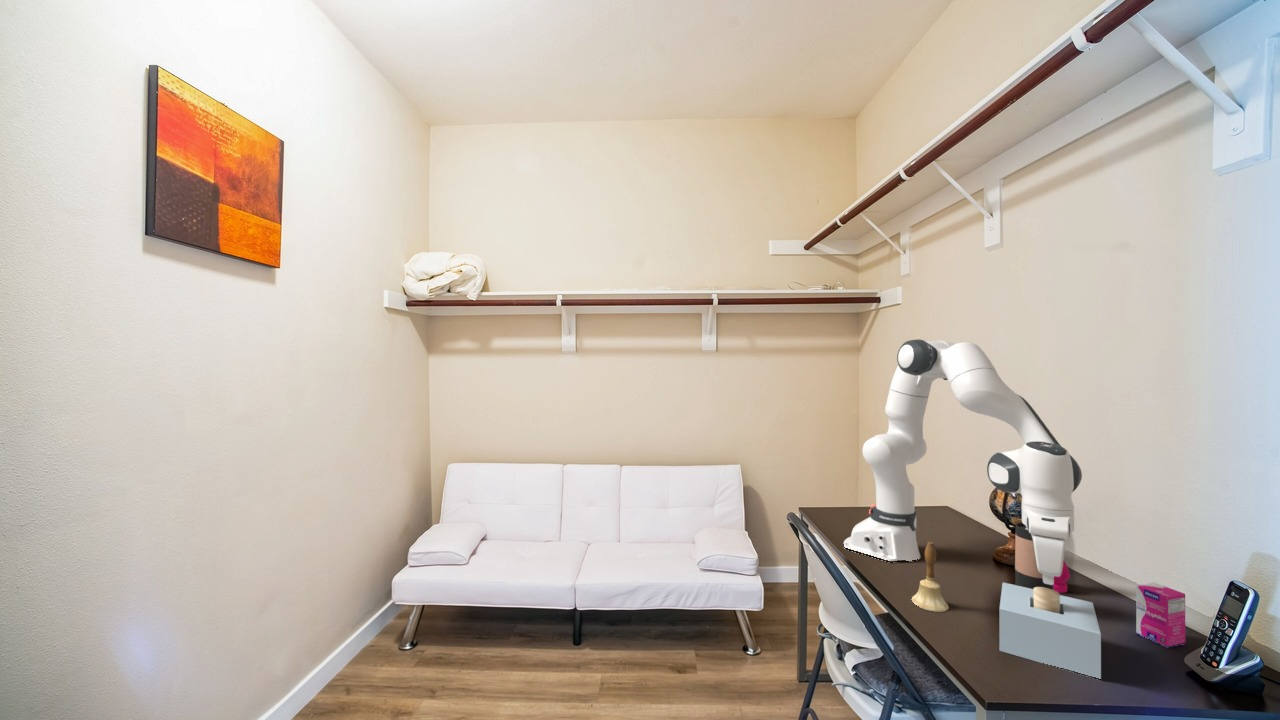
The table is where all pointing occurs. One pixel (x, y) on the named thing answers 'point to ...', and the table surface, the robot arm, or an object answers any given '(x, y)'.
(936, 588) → the hand bell
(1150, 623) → the supplement box
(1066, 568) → the pepper mill
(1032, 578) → the travel mug
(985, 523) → the table surface
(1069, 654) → the socket block
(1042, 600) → the peg
